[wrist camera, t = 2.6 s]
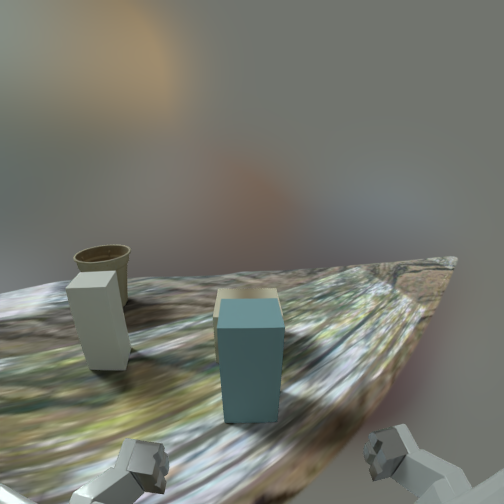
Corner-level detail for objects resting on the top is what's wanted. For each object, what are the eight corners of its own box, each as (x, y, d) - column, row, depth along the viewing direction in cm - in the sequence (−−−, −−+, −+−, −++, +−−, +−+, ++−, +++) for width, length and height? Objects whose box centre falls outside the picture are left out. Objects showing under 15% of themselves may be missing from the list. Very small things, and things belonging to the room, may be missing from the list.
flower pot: (148, 296, 46) (142, 245, 43) (115, 322, 37) (105, 264, 34) (106, 289, 48) (99, 243, 45) (73, 310, 39) (61, 259, 36)
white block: (89, 369, 26) (65, 288, 24) (98, 347, 31) (79, 272, 28) (125, 370, 27) (105, 286, 24) (131, 347, 32) (116, 270, 29)
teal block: (224, 422, 22) (216, 328, 19) (226, 389, 26) (221, 298, 23) (277, 421, 22) (284, 327, 19) (272, 388, 26) (277, 298, 23)
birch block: (216, 363, 30) (212, 317, 28) (220, 330, 37) (218, 288, 35) (280, 363, 30) (283, 316, 28) (274, 330, 37) (276, 288, 35)
